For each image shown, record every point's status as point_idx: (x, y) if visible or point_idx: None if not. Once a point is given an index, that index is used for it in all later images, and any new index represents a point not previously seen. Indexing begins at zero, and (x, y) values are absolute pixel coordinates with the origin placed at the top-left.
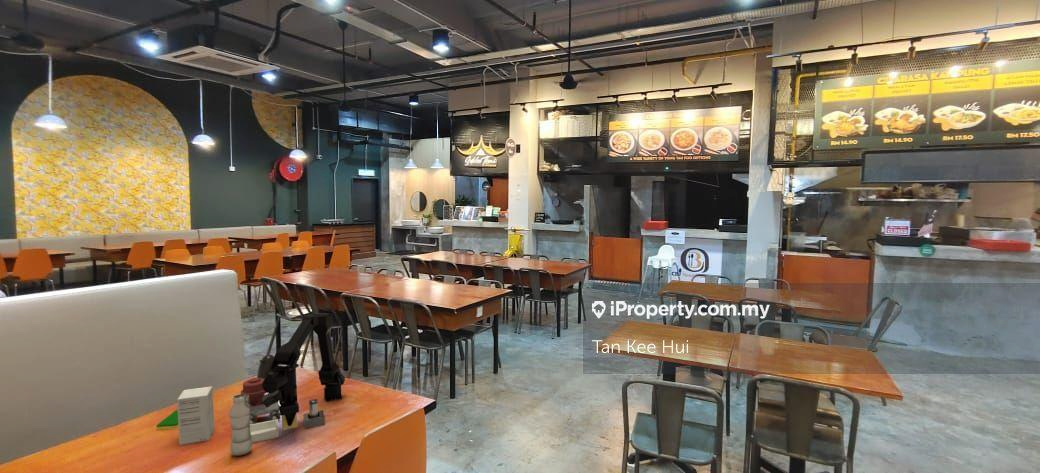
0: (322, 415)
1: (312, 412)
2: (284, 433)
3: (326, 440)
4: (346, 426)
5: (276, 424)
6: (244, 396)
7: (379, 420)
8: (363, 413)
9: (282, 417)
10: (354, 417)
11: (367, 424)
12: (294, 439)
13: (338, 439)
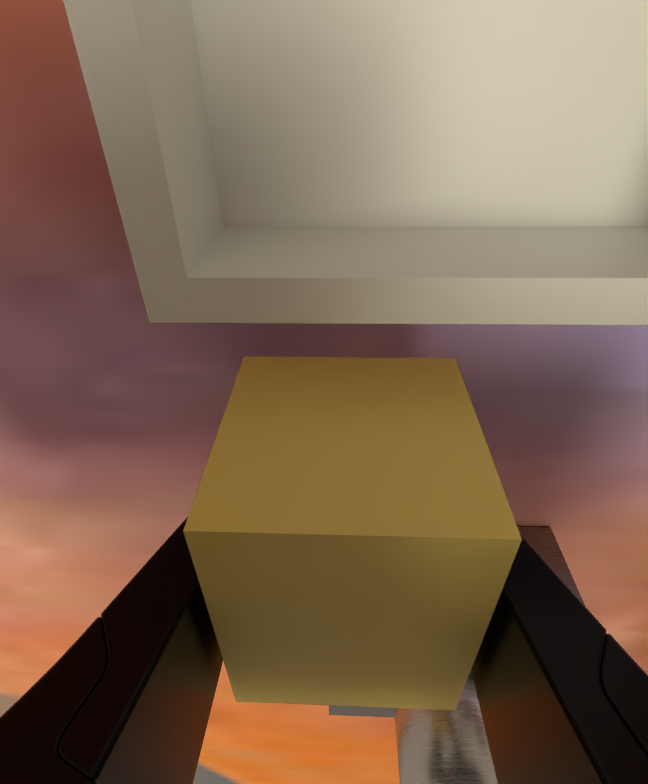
0: (385, 711)
1: (401, 742)
2: (320, 335)
3: (13, 611)
4: (227, 696)
5: (462, 286)
6: None
7: (239, 771)
8: (385, 754)
9: (321, 546)
10: (353, 729)
11: (209, 745)
12: (82, 430)
13: (21, 654)
